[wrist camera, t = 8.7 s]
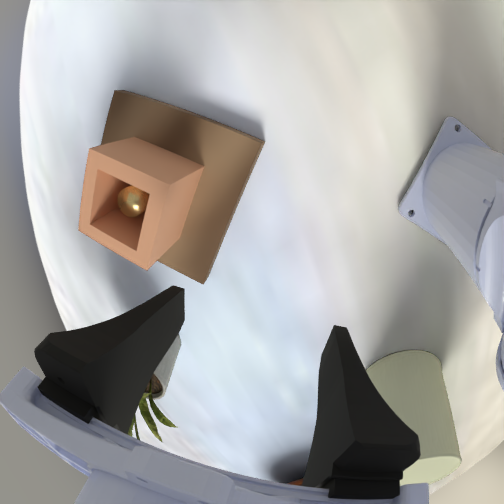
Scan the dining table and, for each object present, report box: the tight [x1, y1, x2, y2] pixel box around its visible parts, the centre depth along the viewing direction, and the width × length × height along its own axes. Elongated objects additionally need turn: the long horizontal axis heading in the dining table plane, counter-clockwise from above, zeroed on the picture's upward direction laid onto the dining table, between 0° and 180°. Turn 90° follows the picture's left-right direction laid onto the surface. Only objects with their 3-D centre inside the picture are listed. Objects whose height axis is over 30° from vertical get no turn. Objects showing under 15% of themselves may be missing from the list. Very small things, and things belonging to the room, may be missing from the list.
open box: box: [78, 137, 205, 270], centre depth 18 cm, size 6×6×5 cm
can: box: [366, 350, 462, 486], centre depth 20 cm, size 9×9×12 cm
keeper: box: [101, 90, 265, 284], centre depth 20 cm, size 12×12×5 cm
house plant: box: [127, 335, 181, 442], centre depth 23 cm, size 14×14×16 cm
